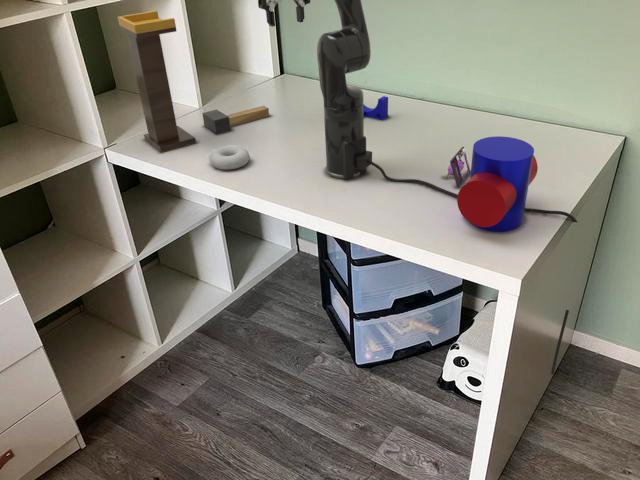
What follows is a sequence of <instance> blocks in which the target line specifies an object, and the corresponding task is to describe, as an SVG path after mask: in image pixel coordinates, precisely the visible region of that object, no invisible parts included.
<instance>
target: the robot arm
mask: <svg viewBox="0 0 640 480" xmlns="http://www.w3.org/2000/svg"><path fill="white" fill-rule="evenodd" d="M279 1H280V0H257V6H258V8H259V9H261V10H264V12H265V17H266V23H267V24H268V26H270V27H276V19H275V17H276V16H275V11H274V9H275V7H276V5H277V4H278V3H279ZM292 1H293V2H294V4H295V5H296V6H295V13H296V14H295V15H296V21H297V22H298V23H303V22H304V20H305V18H306V17H305V6H306V5H309V4H311V0H292ZM333 2H334V3H335V5H336V8H337V10H338V14H339V17H340V18H339V19H340V24H341V29H336V30H332V31H327V32H324V33H322V34H321V35H320V36H319V39H318V41H317V45H316V56H317V57H316V58H317V67H318V78H319V87H320V88H319V89H320V90H321V95H322V98H323V119H324V122H323V123H324V142H325V143H324V144H325V160H326V163H325V164H326V167H325V169H326V173H327V175H329V176H331V177H333V178H336V179H343V180H345V181H348V180H351V179H354V178H357V177H360V176H363V175H365V174H367V169H368V167H370V165H371V166H373V168H376V169H377V170H378V171H379V172H380V173H381V175H382V177H383V178H384V179H385V180H387V181H389V182H394V183H417V184H421V185H424V186H427V187H430V188H432V189H434V190H437V191H438V192H441V193H443V194H447V195H448V196H451V197H454V198H456V199H457V196H458V193H455V192H452V191H450V190H447V189H445V188H443V187H442V188H441V187H439V186H437V185H435V184H433V183H431V182H428V181H425V180H421V179H415V178H407V179H405V178H404V179H396V178H392V177H390V176H388V174H386V172H385V170H384V169H383V168H382V167H381V166H380V165H378V164H377V163H375V162H374V161H373V151H370V150H367V137H366V136H365V129H364V128H365V126H364V124H365V121H364V119H365V117H364V105H365V104H364V91H363V89H362V88H361V87H358V86H356V85H354V84H349V83H347V77H346V75H347V74H350V73H354V72H358V71H361V70H364V69H365V68H367V67H368V65H369V63H370V61H371V55H372V52H371V51H372V50H371V41H370V35H369V31H368V27H367V26H368V25H367V22H366V17H365V12H364V8H363V3H362V0H333ZM524 212H528V213H539V214H546V215H561V216H564V217H567V218H569V219H570V220H571V221H572V222H573V223H578V220H577V218H575V216H573V215H572V214H570V213H569V212H566V211H562V210H547V209H540V208H531V207H529V208H527V207H525V211H524ZM569 312H570V310H568V309H565V312H564V316H563V320H562V324H561V328H560V332H559V336H558V340H557V344H556V349H555V353H554V358H553V360H552V361H553V362H552V367H551V371H550V374H551V375H555V371H556V366H557V362H558V358H559V357H558V356H559V352H560V349H561V345H562V340H563V336H564V332H565V329H566V324H567V321H568V318H569V317H568V316H569Z"/></svg>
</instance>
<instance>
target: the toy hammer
mask: <svg viewBox="0 0 640 480" xmlns="http://www.w3.org/2000/svg"><path fill="white" fill-rule="evenodd" d="M268 117H270V111H269V107H267V106H266V105H261V106H257V107H252V108H249V109H245V110H242V111H237V112H234V113H228V114H225V113H224V112H222V111H220V110H218V109H213V110H209V111H205V112H202V120H203V125H204V127H205V128H206V129H207V130H209V131H211V132H212V133H214V134H215V135H219V134H222V133H226V132H230V131H232V129H231V128H232V127H235V126H239V125H243V124H246V123H250V122H254V121H256V120H257V121H258V120H260V119H265V118H268Z"/></svg>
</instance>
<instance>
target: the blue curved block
mask: <svg viewBox="0 0 640 480" xmlns="http://www.w3.org/2000/svg"><path fill="white" fill-rule="evenodd" d="M366 117H367V118H370V119H375V120H380V121H384V120H385V119H387V118H388V117H389V96H386V95H383V96H381V97H380V98H377V104H376V106H375V108H371V107H368V106H367V105H365V104H364V118H366Z"/></svg>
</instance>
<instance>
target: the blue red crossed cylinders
mask: <svg viewBox="0 0 640 480" xmlns="http://www.w3.org/2000/svg"><path fill="white" fill-rule="evenodd" d="M534 153H535V148H534V146H533V145H532V144H531V143H529V142H527V141H525V140H523V139H519V138H516V137H512V136H499V135H497V136H488V137H483V138H480V139H478V140H476V141H475V142H474V143H473V146H472V154H471V164H470V165H471V166H470V174H469V175H470V176H469V179H468V181H466V183H464V185H462V187H461V188H459V191H458V193H457V194H458V196H457V198H456V203H457V208H458V211H459V212H460V214H461V215H462V217H463V218H464V219H465V221H467V222H469V224H470V225H472V226H473V227H475V228H477V229H480V230H483V231H486V232H491V233H506V232H511V231H515V230H517V229H518V228H520V227H521V226H522V225H523V223H524V217H525V212H526V211H525V208H526V205H527V204H526V203H527V199H528V192H529V186H530V185H531V184H532V183H533V181H534V180H535V179H536V177H537V175H538V168H539V167H538V161H537V159H536V157H535V155H534Z"/></svg>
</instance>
